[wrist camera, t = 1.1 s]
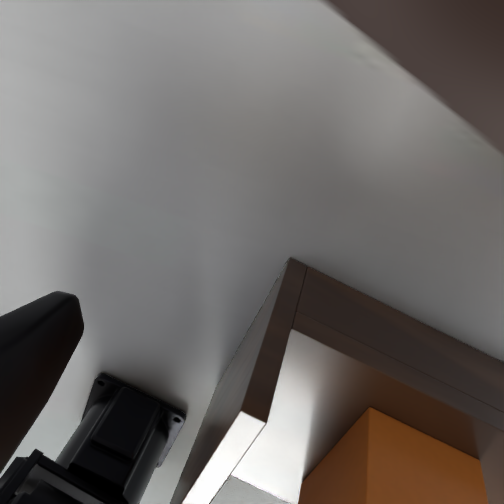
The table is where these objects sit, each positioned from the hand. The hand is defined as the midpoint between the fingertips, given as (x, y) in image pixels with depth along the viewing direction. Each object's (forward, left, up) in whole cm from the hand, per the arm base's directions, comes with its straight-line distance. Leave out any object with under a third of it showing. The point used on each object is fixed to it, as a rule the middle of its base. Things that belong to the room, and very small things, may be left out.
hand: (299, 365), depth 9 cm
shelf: (-12, -8, -14) cm, 20 cm away
